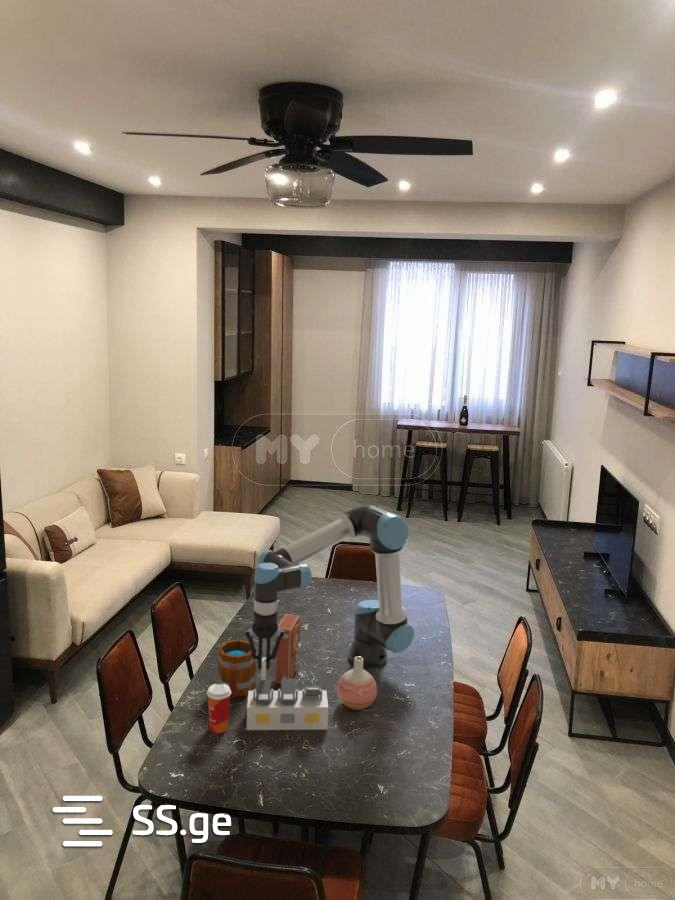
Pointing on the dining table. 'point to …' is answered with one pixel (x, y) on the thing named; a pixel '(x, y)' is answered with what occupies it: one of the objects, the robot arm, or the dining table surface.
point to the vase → (357, 687)
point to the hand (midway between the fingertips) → (263, 677)
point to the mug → (236, 667)
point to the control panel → (287, 648)
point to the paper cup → (218, 707)
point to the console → (288, 712)
